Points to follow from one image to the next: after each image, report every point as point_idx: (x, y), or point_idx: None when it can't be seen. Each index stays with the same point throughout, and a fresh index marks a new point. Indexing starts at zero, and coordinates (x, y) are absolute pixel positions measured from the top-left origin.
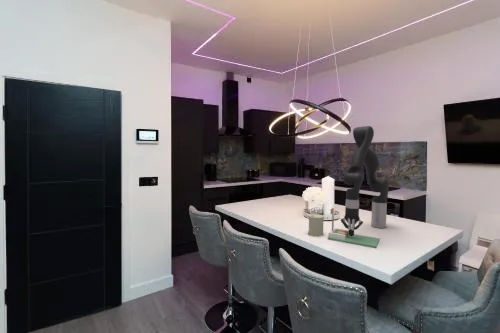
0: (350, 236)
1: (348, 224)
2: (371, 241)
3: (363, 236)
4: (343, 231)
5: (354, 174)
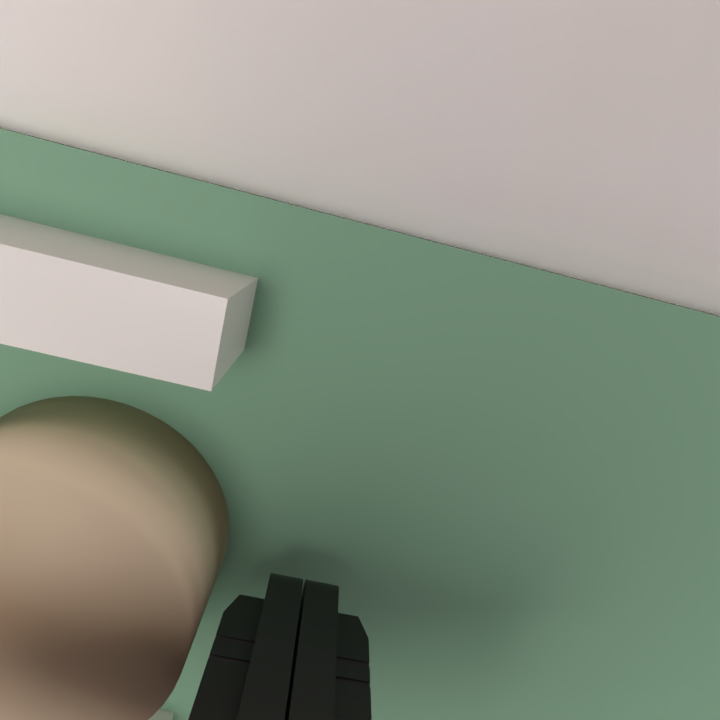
0: (281, 494)
1: None
2: (714, 680)
3: (629, 381)
4: (24, 659)
5: None
